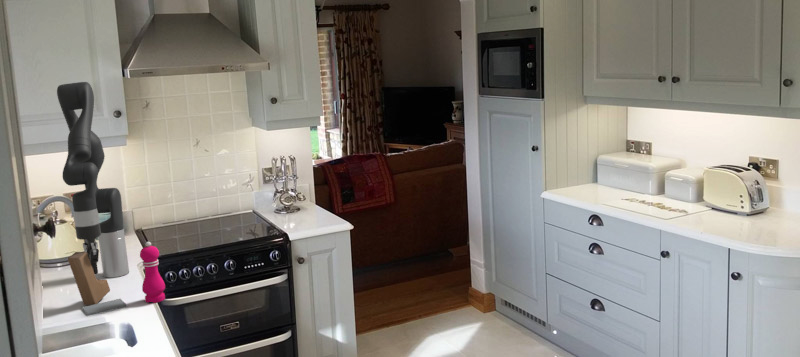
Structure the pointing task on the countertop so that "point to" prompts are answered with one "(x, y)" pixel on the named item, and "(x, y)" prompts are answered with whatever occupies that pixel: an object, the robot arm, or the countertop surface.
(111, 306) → the grey mat
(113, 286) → the countertop surface
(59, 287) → the countertop surface
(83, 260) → the wooden block
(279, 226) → the countertop surface
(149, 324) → the countertop surface
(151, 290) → the pepper mill
